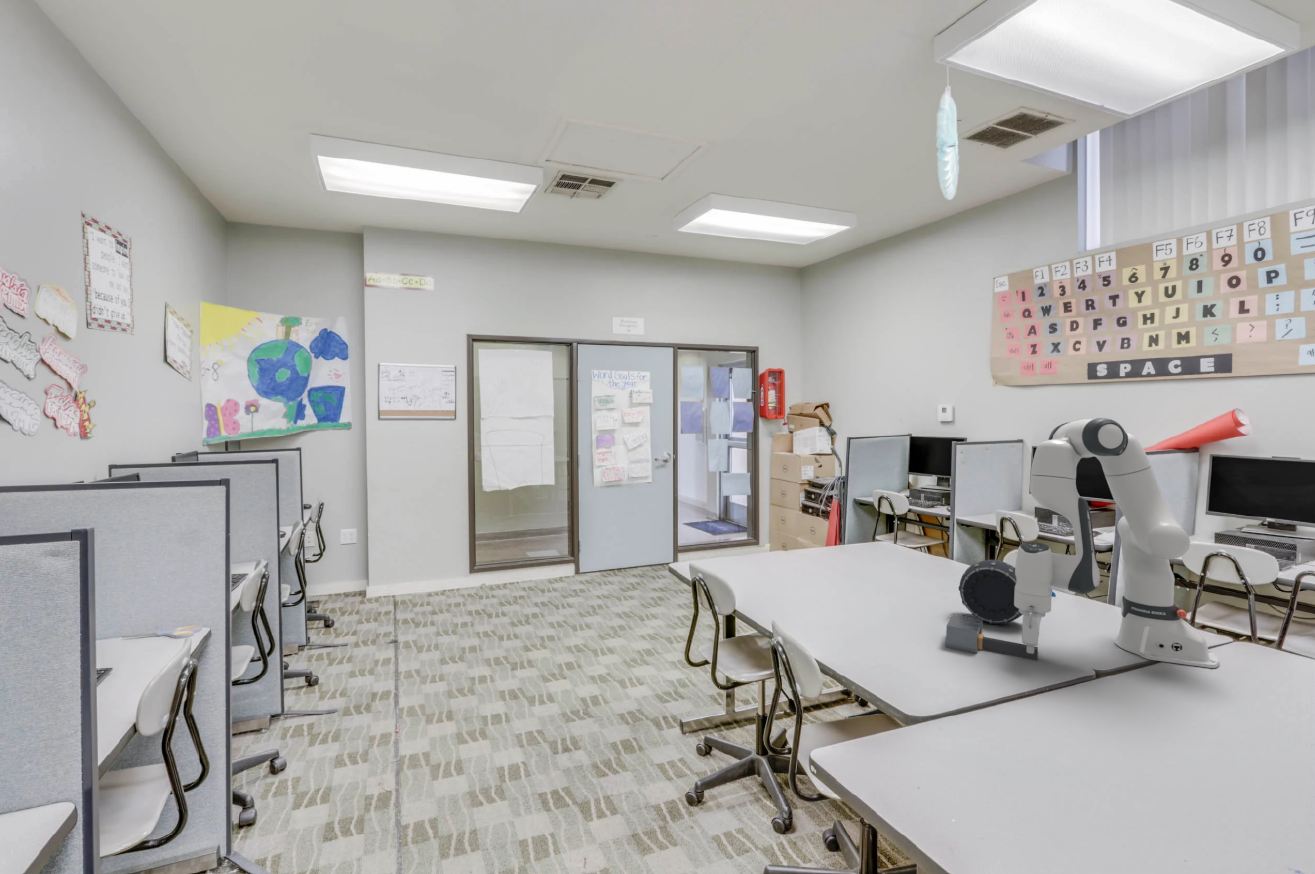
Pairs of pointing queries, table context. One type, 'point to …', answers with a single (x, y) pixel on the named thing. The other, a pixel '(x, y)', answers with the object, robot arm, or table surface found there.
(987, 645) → the plug
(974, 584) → the dotted bowl
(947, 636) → the slotted block
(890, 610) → the table surface
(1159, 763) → the table surface
